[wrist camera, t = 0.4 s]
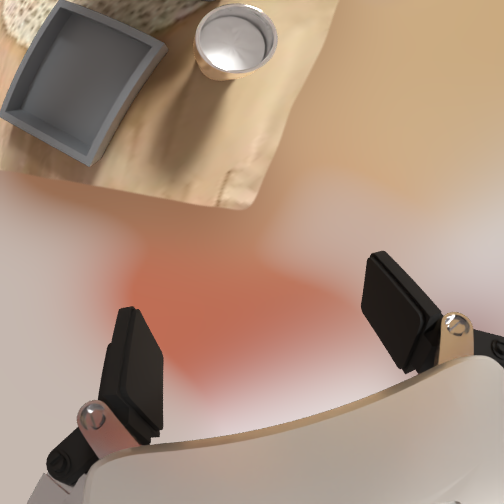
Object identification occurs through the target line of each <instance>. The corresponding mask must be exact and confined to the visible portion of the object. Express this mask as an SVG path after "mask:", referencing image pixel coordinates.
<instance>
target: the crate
mask: <svg viewBox="0 0 504 504" xmlns="http://www.w3.org/2000/svg"><path fill="white" fill-rule="evenodd" d="M167 52H168V48H167V46H166V45H165V43H163V42H161V41H159V40H157V39H155V38H154V37H152V36H150V35H148V34H146V33H144V32H141V31H139V30H137V29H135V28H133V27H131V26H129V25H127V24H124V23H122V22H120V21H118V20H115V19H113V18H111V17H108V16H106V15H103V14H101V13H98V12H96V11H93V10H91V9H88V8H85V7H83V6H80V5H77V4H74V3H71V2H68V1H65V0H59V1H58V2H57V4H56V5H55V6H54V8H53V9H52V11H51V12H50V14H49V15H48V17H47V18H46V20H45V21H44V23H43V25H42V26H41V28H40V29H39V31H38V33H37V34H36V36H35V38H34V39H33V41H32V43H31V45H30V47H29V48H28V50H27V52H26V54H25V56H24V58H23V60H22V62H21V64H20V66H19V68H18V70H17V72H16V74H15V76H14V78H13V81H12V83H11V85H10V88H9V90H8V92H7V95H6V97H5V100H4V102H3V105H2V108H1V110H0V117H1V118H2V119H4V120H6V121H8V122H10V123H11V124H13V125H15V126H17V127H18V128H20V129H22V130H24V131H26V132H27V133H29V134H31V135H33V136H35V137H36V138H38V139H40V140H42V141H43V142H45V143H47V144H49V145H51V146H52V147H54V148H56V149H58V150H60V151H61V152H63V153H65V154H67V155H69V156H70V157H72V158H74V159H76V160H78V161H79V162H81V163H83V164H85V165H87V166H88V167H90V166H92V165H93V164H94V163H95V162H97V161H98V160H99V159H101V158H102V156H103V154H104V152H105V150H106V148H107V146H108V144H109V142H110V140H111V138H112V137H113V135H114V133H115V131H116V129H117V128H118V126H119V124H120V122H121V121H122V119H123V117H124V115H125V114H126V112H127V110H128V109H129V107H130V105H131V104H132V102H133V101H134V99H135V97H136V96H137V94H138V93H139V91H140V90H141V88H142V87H143V85H144V84H145V82H146V81H147V79H148V78H149V76H150V75H151V73H152V72H153V71H154V69H155V68H156V66H157V65H158V64H159V62H160V61H161V60H162V58H163V57H164V56H165V54H166V53H167Z"/></svg>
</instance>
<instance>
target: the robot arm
mask: <svg viewBox="0 0 504 504" xmlns="http://www.w3.org/2000/svg"><path fill="white" fill-rule="evenodd" d="M362 296H363V297H362V302H361V309H362V312H363V314H364V315H365V317H366V318H367V320H368V321H369V323H370V325H371V326H372V328H373V329H374V331H375V332H376V334H377V335H378V337H379V338H380V340H381V341H382V343H383V345H384V346H385V348H386V349H387V351H388V353H389V354H390V355H391V357H392V359H393V361H394V362H395V364H396V365H397V367H398V368H399V369H402V370H403V371H404V373H405V374H407V373H409V372H411V371H413V370H415V369H416V371H417V373H418V375H416V376H414V377H412V378H410V379H408V380H405V381H404V382H401V383H399V384H396V385H394V386H392V387H389V388H387V389H385V390H382V391H380V392H378V393H376V394H373V395H370V396H368V397H365V398H362V399H360V400H357V401H354V402H352V403H349V404H346V405H343V406H340V407H338V408H335V409H331V410H328V411H325V412H322V413H319V414H316V415H312V416H309V417H306V418H302V419H299V420H295V421H292V422H287V423H283V424H279V425H275V426H271V427H267V428H262V429H258V430H253V431H248V432H243V433H238V434H232V435H226V436H220V437H214V438H207V439H199V440H192V441H184V442H174V443H163V444H154V445H150V443H151V437H160V432H159V431H160V430H162V429H163V355H162V351H161V350H160V348H159V346H158V344H157V342H156V340H155V339H154V337H153V335H152V333H151V331H150V329H149V327H148V326H147V324H146V322H145V320H144V318H143V316H142V314H141V312H140V310H139V309H135V308H134V307H133V306H131V307H126V308H121V309H119V311H118V315H117V319H116V324H115V328H114V333H113V337H112V342H111V343H110V344H109V345H108V347H107V351H106V357H105V361H104V367H103V372H102V377H101V383H100V389H99V396H98V400H92V401H89V402H87V403H85V404H84V405H83V406H82V407H81V408H80V410H79V412H78V415H77V424H78V428H76V429H75V430H74V431H73V432H72V433H71V434H70V435H69V436H68V437H67V438H65V439H64V440H63V441H62V442H61V443H60V444H59V445H58V446H57V447H56V448H54V449H53V450H52V451H51V452H50V454H49V455H48V458H47V463H46V465H47V470H48V473H47V474H45V473H43V475H42V477H41V479H40V480H39V482H38V484H37V486H36V487H35V489H34V491H33V493H32V495H31V496H30V498H29V500H28V503H27V504H504V337H502V336H498V335H494V334H490V333H486V332H482V331H478V330H475V329H473V326H472V323H471V321H470V320H469V319H468V318H467V317H466V316H465V315H463V314H461V313H458V312H450V313H447V314H446V315H444V316H443V315H442V314H441V311H440V310H439V308H438V307H437V306H436V305H435V304H434V303H433V301H431V299H430V298H429V297H428V296H427V295H426V294H425V293H424V291H422V289H421V288H420V287H419V286H418V285H417V284H416V283H415V282H414V281H413V279H412V278H411V277H410V276H409V275H408V274H407V273H406V272H405V271H404V270H403V269H402V268H401V267H400V266H399V265H398V264H397V263H396V262H395V261H394V260H393V259H392V258H391V257H390V256H389V255H388V254H387V253H386V252H385V251H380V252H376V253H372V254H371V255H370V258H368V259H367V265H366V274H365V281H364V289H363V295H362Z"/></svg>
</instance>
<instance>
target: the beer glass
mask: <svg viewBox="0 0 504 504" xmlns="http://www.w3.org/2000/svg"><path fill="white" fill-rule="evenodd" d="M277 42H278V36H277V31H276V28H275V25H274V23H273V22H272V20H271V19H270V18H269V17H268V16H267V15H266V14H265V13H264V12H262V11H261V10H259V9H257V8H255V7H253V6H250V5H246V4H237V3H235V4H227V5H223V6H220V7H217V8H215V9H213V10H212V11H210V12H209V13H208V14H206V15H205V16H204V18H203V19H202V20H201V21H200V23H199V25H198V27H197V30H196V34H195V37H194V42H193V52H194V56H195V59H196V61H197V63H198V66H199V68H200V70H201V72H202V73H203V74H204V75H205V76H206V77H208V78H210V79H212V80H216V81H225V80H231V79H238V78H242V77H245V76H248V75H250V74H252V73H254V72H255V71H257V70H258V69H259V68H261V67H262V66H263V65H265V64H266V63H267V62H268V61H269V60H270V59H271V57H272V56H273V54H274V52H275V50H276V47H277Z"/></svg>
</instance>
